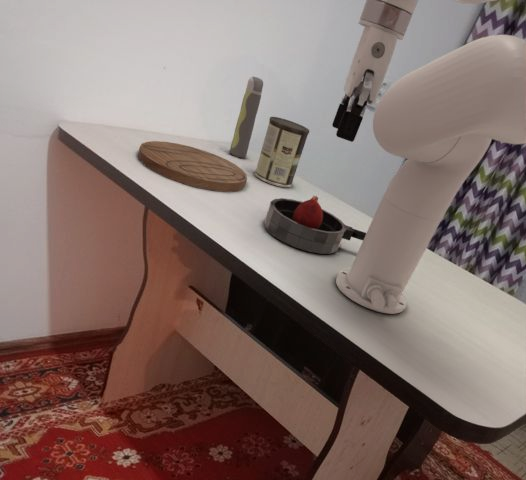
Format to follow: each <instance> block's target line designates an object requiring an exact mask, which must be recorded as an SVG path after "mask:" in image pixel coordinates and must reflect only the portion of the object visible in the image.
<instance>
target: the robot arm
mask: <svg viewBox="0 0 526 480" xmlns="http://www.w3.org/2000/svg"><path fill="white" fill-rule="evenodd" d="M496 1H497V0H454V2H456V3H459V4H463V5H477V4H478V5H480V4H486V3H491V2H496ZM418 3H419V0H365V4H364V6H363V9H362V12H361V15H360V18H359V21H358V24H359V26H362V27H364V28H363V30H362V33H361V36H360V39H359V42H358V44H357V47H356V49H355V52H354V55H353V58H352V61H351V64H350V66H349V70H348V73H347V77H346V78H345V82H344V85H343V91H344V94H343V97H342V99H341V101H340V102H341V103H339V104H338V107H337V111H336V113H335V116H334V118H333V122H332V128H335V129H337V130H336V134H335V135H336V137H337V138H339V139H342V140H344V141H345V140H346V141H348V142H350V143H353V142H354V141H355V139H356V137H357V134H358V131H359V129H360V126H361V124H362V121H363V119H364V115H365V113H366V109H367V105H370V106H372V105H374V104H376V102H377V99H378V97H379V94H380V91H381V89H382V86H383V83H384V80H385V78H386V74H387V72H388V69H389V66H390V64H391V61H392V59H393V58H392V57H393V55H394V52H395V50H396V49H395V48H396V45H397V42H398V40H400V41H403V39H404V38H405V37H404V36H405V35H406V32H407V30H408V27H409V25H410V22H411V21H412V18H413V15H414V12H415V10H416V7H417V5H418ZM373 113H374V114H373V118H372V131H373V135H374V137H375V140H376V142H377V143H378V145H379V146H380V147H381V148H382V149H383V150H384V151H385V152H386V153H388V154H389V155H390V154H391V155H393V156H395V157H400V158H403V159H406V160H405V162H404V163H403V164H402V165H401V166H400V167H399V168H398V169H397V171H396V172H395V174H394V175H393V177H392V178H391V180H390V181H389V183H388V185H387V187H386V189H385V191H384V193H383V195H382V198H381V200H380V201H379V204H378V207H377V209H376V211H375V213H374V215H373V218H372V220H371V222H370V224H369V226H368V229H367V231H366V232H365V233H366V235H365V238H364V240H362V242H361V244H360V247H359V249H358V251H357V253H356V255H355V258H354V259H353V262H352V265H351V266H350V269H345V270H342V271H339V272H338V274H337V276H336V278H335V284H336V287H337V288H338V289H339V291H340V293H342V294H343V295H345V296H346V297H347V298H348V299H350V301H351V300H352V302H354V303H356V304H357V305H360V306H362V307H364V308H366V309H369V310H371V311H374V312H378V313H383V314H388V315H389V314H390V315H395V314H399V313H402V312H404V311H405V309H406V307H407V305H408V301H407V297H406V296H405V295H404V294H403V292H404V291H405V289H406V287H407V285H408V283H409V282H410V280H411V278H412V276H413V274H414V272H415V270H416V268H417V266H419V265H418V264H419V263H420V261H421V259H422V257H423V255H424V254H425V251H426V250H427V247H428V246H429V244H430V242H431V241H432V239H433V237H434V236H435V235H434V234H435V233H436V231H437V229H438V227H439V225H440V224H441V222H442V221H443V219H444V216H445V215H446V213H447V211H448V209H449V208H450V205H451V203H452V202H453V200H454V198H455V197H456V195H457V193H458V192H459V190H460V189H461V187H462V185H463V184H464V183H465V181H466V180H467V178H468V177H469V176H470V174H471V173H472V172H473V171H474V169H475V168H476V167H477V165H478V164H479V163H480V161H481V160H482V159H483V157H484V156H485V154H486V152H487V151H488V149H489V147H490V145H491V142H492V140H493V141H497V142H500V143H504V144H510V145H523V144H526V40H525V39H523V38H521V37H518V36H515V35H512V34H511V35H510V34H493V35H488V36H483V37H481V38H480V37H479V38H477V39H474V40H472V41H470V42H468V43H465V44H464V45H461V46H459V47H458V48H455V49H454V50H452V51H450V52H448V53H446V54H444V55H442V56H440V57H438V58H436V59H434V60H432V61H430V62H428V63H426V64H424V65H422V66H420V67H419V68H416V69H414V70H413V71H411V72H409V73H407V74H405V75H404V76H402V77H400V78H399V79H398V80H396V81H395V82H394V83H392V84H391V85H390V87H388V89H386V91H385V92H384V94H382V96H381V98H380V99H379V101H378V103H377V105H376V107H375V110H374V112H373Z"/></svg>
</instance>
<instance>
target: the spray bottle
mask: <svg viewBox="0 0 526 480" xmlns="http://www.w3.org/2000/svg"><path fill="white" fill-rule="evenodd" d="M263 88H264V80H263V79H261V78H260V77H257V76H250V77H249V79H248V81H247V84H246V88H245V93H244V95H243V98H242V103H241V105H240V111H239V114H238V118H237V121H236V125H235V129H234V133H233V138H232V141H231V144H230V148H229V153H230V155H232V156H234V157H236V158H240V159H244V158H246V157H247V154H248V151H249V146H250V141H251V138H252V134H253V131H254V127H255V122H256V117H257V114H258V111H259V107H260V103H261V98H262V95H263V94H262V93H263Z"/></svg>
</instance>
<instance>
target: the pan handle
mask: <svg viewBox="0 0 526 480" xmlns="http://www.w3.org/2000/svg"><path fill="white" fill-rule="evenodd" d="M344 227H345V229H347V230H346V232H345V234H344V237H343V239H342V240H346V241H349V242H350V241H351V240H352V238H353V239H357V240H360V241H363V240H364V238H365V235H366V233H367V232H365V231H362V230H358V229H356V228H353V227H352V226H349V225H346V224H345V225H344Z"/></svg>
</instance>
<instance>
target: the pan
mask: <svg viewBox="0 0 526 480" xmlns="http://www.w3.org/2000/svg"><path fill="white" fill-rule="evenodd" d="M302 202H303V201H302V200H297V199H292V198H283V197H281V198H274V199H272V200H271V201H270V202H269V206H268V209H267V212H266V216H265V220H264V224H263V226H264V227H265V229H266V231H267V232H269V234H271V235H272V236H273V237H274V238H276V239H277V240H279V241H281V242H282V243H284V244H286V245H288V246H290V247H293V248H294V249H298V250H301V251H304V252H308V253H312V254H323V255H325V254H326V255H330V254H334V253H336V252H338V251H339V249H340V246H341V243H342V241H343V240H344V239H343V237H344V234H345V232H346V230H347V229H345V227H344V225H346V224H345V223H344V222H343V221H342V220H341V219H340V218H338V217H337V216H335V215H334V214H332V213H331V212H328V211H327V210H326V209H323V208H322V212H323V220H322V223H321V225H320V227H319V228H318V229H314V228H310V227H307V226H304V225H302V224H300V223H297V222H295V221H293V214H294V212H295V210H296V208H297V207H298V205H299V204H301V203H302Z"/></svg>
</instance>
